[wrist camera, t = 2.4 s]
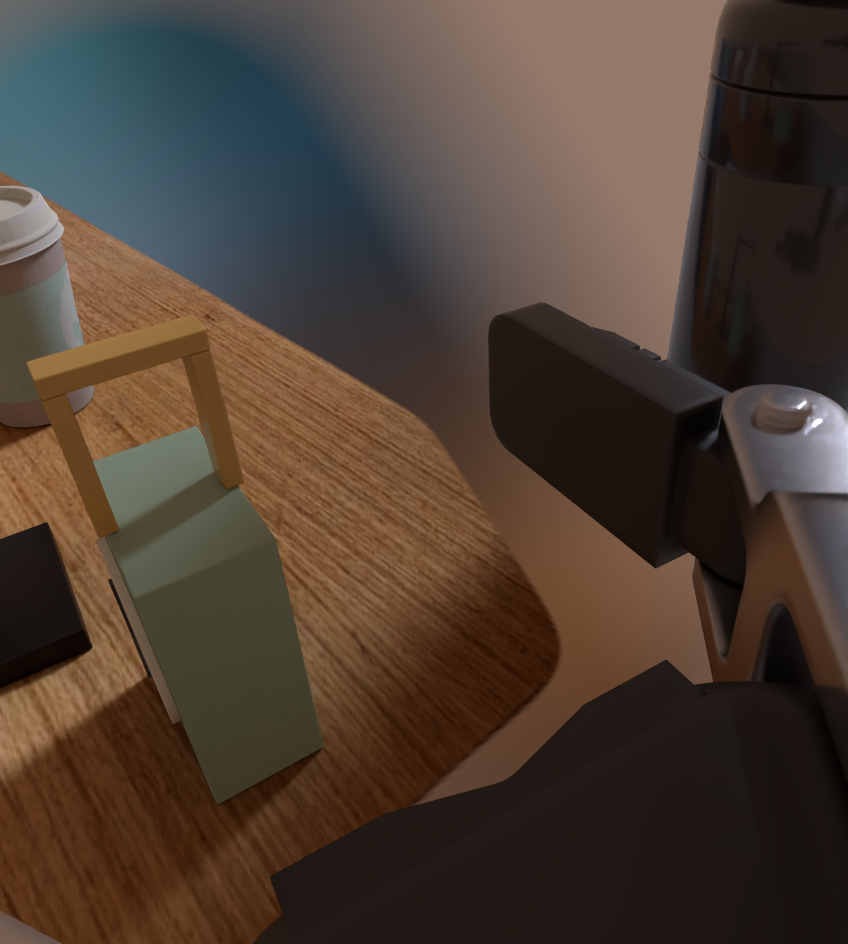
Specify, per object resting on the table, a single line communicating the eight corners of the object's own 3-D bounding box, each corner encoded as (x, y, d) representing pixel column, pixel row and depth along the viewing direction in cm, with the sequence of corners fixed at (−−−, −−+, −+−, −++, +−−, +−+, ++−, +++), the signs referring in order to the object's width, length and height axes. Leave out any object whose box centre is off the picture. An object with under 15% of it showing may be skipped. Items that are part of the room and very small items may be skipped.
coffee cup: (125, 416, 46) (56, 215, 39) (-31, 457, 44) (-136, 250, 36) (109, 355, 53) (47, 173, 45) (-28, 388, 50) (-117, 200, 43)
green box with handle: (256, 621, 33) (162, 279, 23) (329, 744, 28) (246, 373, 19) (148, 671, 31) (-1, 322, 22) (205, 812, 26) (45, 439, 17)
